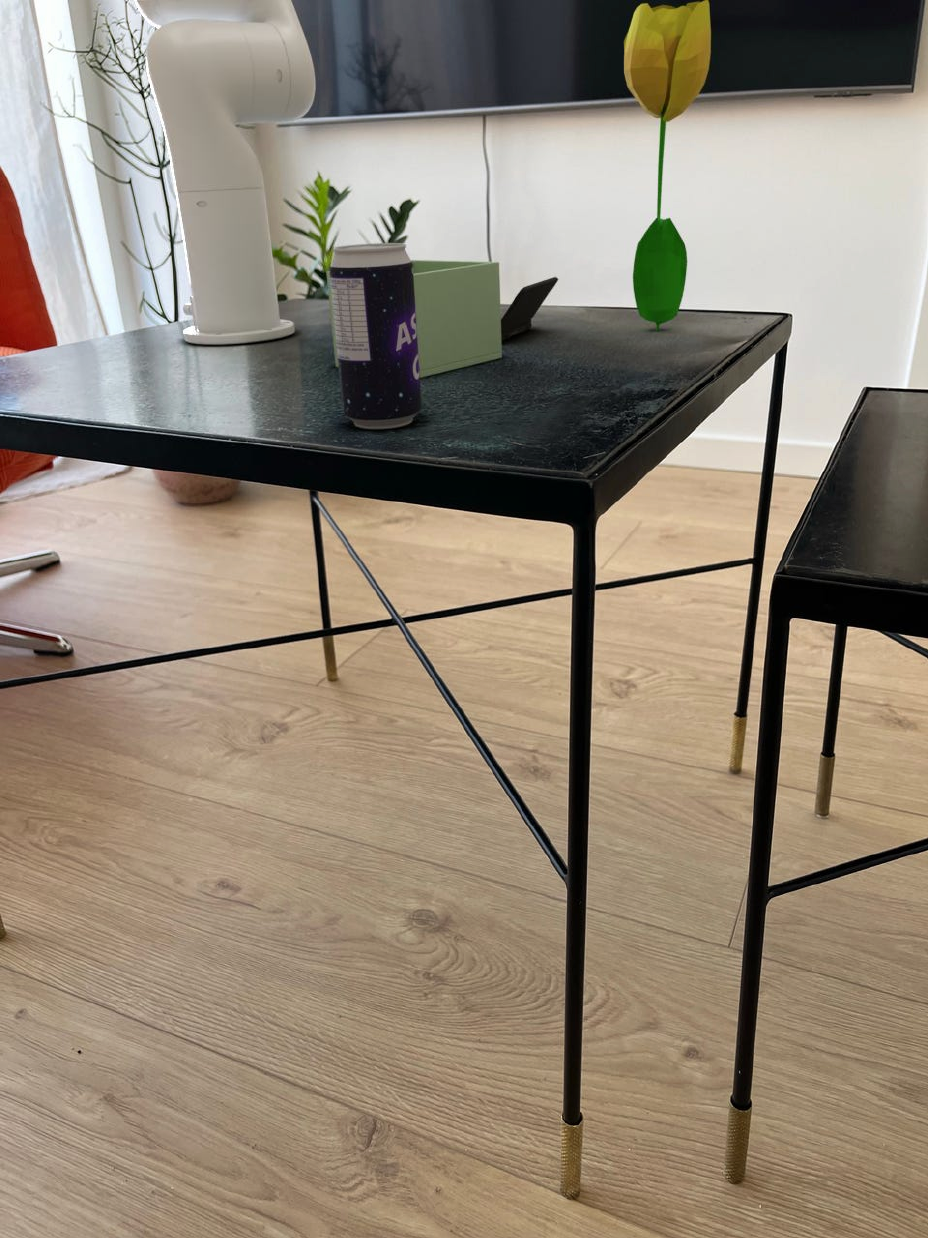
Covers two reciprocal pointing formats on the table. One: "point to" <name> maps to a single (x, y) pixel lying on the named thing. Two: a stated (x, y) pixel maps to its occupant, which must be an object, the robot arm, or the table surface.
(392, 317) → the beverage can
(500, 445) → the table surface
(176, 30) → the robot arm
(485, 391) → the table surface
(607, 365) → the table surface
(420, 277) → the pale green square box
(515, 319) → the black tablet stand
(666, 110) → the flower
